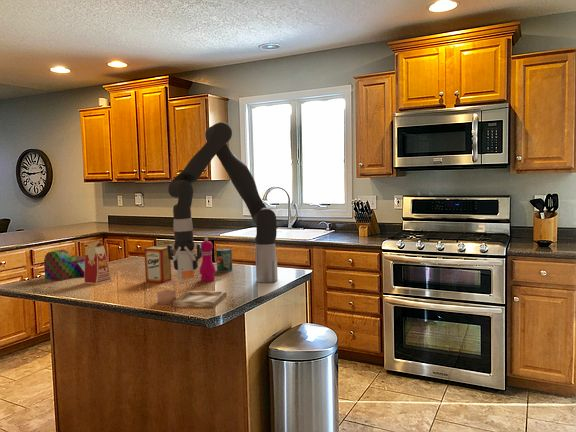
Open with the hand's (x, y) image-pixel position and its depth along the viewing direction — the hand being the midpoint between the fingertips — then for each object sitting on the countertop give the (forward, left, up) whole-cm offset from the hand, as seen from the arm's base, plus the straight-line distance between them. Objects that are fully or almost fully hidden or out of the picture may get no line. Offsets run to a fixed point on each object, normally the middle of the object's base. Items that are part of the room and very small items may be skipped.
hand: (186, 269), depth 199 cm
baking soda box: (+24, -24, -11) cm, 35 cm away
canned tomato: (0, -50, -11) cm, 51 cm away
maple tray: (-9, +10, -10) cm, 17 cm away
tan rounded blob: (+4, +12, -11) cm, 16 cm away
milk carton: (+53, -20, -11) cm, 57 cm away
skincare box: (0, 0, -4) cm, 4 cm away
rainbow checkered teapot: (+73, -36, -11) cm, 82 cm away
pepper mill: (+1, -27, -11) cm, 29 cm away
